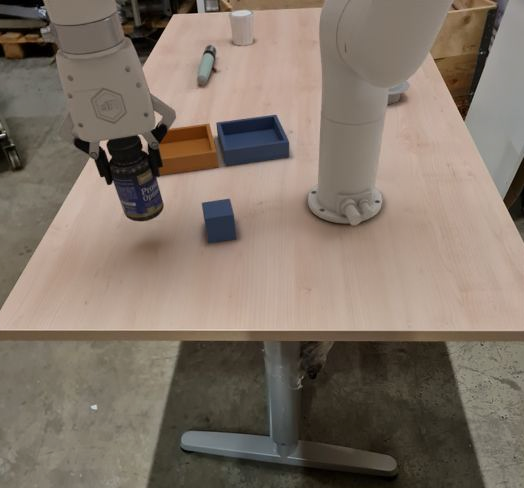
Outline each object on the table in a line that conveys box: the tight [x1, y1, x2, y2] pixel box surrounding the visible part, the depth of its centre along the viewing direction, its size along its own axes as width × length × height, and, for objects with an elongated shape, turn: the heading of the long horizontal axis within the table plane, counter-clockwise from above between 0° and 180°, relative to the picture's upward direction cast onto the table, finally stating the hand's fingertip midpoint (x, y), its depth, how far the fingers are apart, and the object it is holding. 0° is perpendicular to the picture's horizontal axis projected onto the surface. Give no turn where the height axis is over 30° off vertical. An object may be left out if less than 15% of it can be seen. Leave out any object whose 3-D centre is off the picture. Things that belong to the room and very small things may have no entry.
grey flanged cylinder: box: [387, 80, 410, 105], centre depth 104 cm, size 12×10×10 cm
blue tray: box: [215, 114, 290, 167], centre depth 96 cm, size 12×13×3 cm
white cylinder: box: [228, 9, 255, 46], centre depth 134 cm, size 7×7×7 cm
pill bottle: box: [106, 135, 165, 222], centre depth 69 cm, size 6×6×11 cm
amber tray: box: [159, 123, 219, 176], centre depth 95 cm, size 12×13×3 cm
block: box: [201, 198, 237, 244], centre depth 77 cm, size 5×5×5 cm
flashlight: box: [196, 44, 218, 86], centre depth 123 cm, size 3×4×20 cm
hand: (133, 175), depth 69 cm, fingers closed on pill bottle, 6 cm apart
